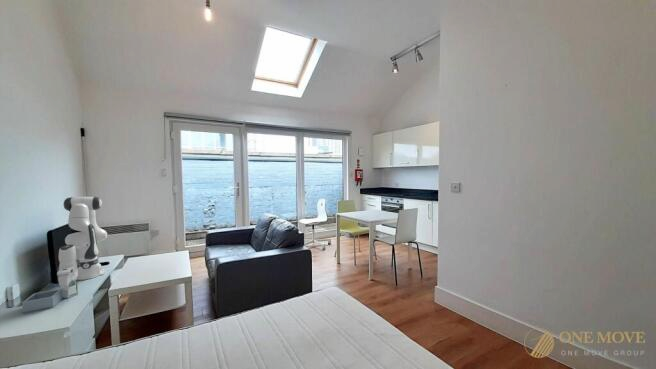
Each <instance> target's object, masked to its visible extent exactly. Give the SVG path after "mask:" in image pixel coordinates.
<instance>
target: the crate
mask: <svg viewBox="0 0 656 369" xmlns="http://www.w3.org/2000/svg"><path fill="white" fill-rule="evenodd" d="M63 299H64V298H63V295H62V288H59V289H52V290H47V291H39V292H35V293H33V294H31V295H30V296H29V297H27V298H26V299H24V300H23V301H21V306H22V307H21V308H22V314H27V313H33V312H37V311H43V310H47V309H53V308H55V307H56V305H57V304H59V303H60V301H62V300H63Z"/></svg>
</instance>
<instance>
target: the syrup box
mask: <svg viewBox="0 0 656 369" xmlns="http://www.w3.org/2000/svg"><path fill="white" fill-rule="evenodd" d="M71 278H72V281H71V282H70V283H69V285H68V287H69V290H67V291H65V288H64V286H62V287H61V289H62V295H63V299H64V298H65V299H70V298H72V297H74V296H78V295H79V291H78V289H79V288H78V279H77V276H76V275H73V276H72V277H71Z"/></svg>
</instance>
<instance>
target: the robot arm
mask: <svg viewBox="0 0 656 369" xmlns="http://www.w3.org/2000/svg"><path fill="white" fill-rule="evenodd" d="M102 206H103V202H102V198H100V197H98V196H77V197H76V196H75V197H72V196H71V197H66V198H65V199H64V201H63V209H64V210H65V211H68V212H69V214H68V219H67V221H68V223H67V224H68V226H69V228H70V229H71V230H75V231H78V232H73V233H70V234H67V236H66V237H65V238H64V243H65V244H66V245H63V246H60V248H59V250H58V262H59V266H58V271H57V272H56V275H57V276H58V284H59V287H61V288H62V286H64V288H65V291H67V290H69V287H68V285H69V283H70V282H71V281H72V278H71V277H72V276H73V275H76V276H77V281H83V280H84V281H85V280H89V279H90V280H91V279H93V278H96V277H100V276H103V275H105V272H106V270H105V269H106V268H102V264H101V263H100V261H99V257H98V255H99V247H98V244H97V243H100V242H103V241H106V239H107V238H108V232H107V231H106V229H103V228H101V227H100V226H98V224H97V218H96V217H97V216H96V214H97V213H96V211H97V210H99V209H101V207H102Z"/></svg>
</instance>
